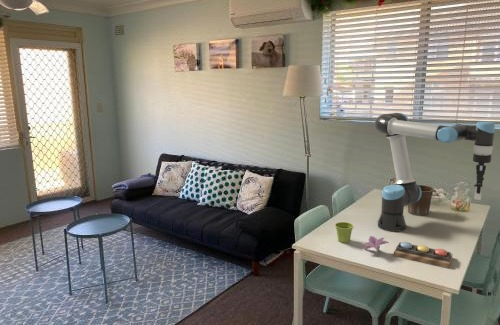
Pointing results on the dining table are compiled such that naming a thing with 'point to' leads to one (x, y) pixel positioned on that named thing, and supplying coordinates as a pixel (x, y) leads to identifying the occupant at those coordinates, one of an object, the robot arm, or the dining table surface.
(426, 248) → the button ochre
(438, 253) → the button red
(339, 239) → the plant pot
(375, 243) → the lily
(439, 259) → the button panel
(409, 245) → the button blue
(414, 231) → the dining table surface
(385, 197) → the robot arm
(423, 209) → the plant pot
